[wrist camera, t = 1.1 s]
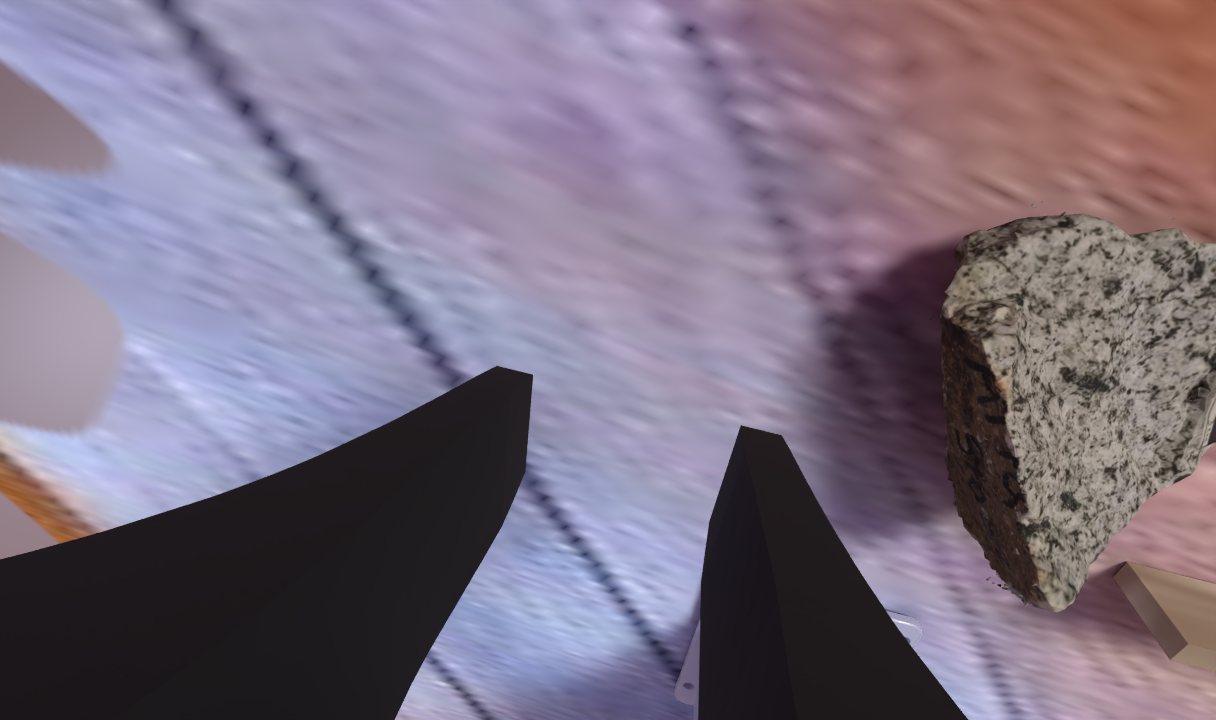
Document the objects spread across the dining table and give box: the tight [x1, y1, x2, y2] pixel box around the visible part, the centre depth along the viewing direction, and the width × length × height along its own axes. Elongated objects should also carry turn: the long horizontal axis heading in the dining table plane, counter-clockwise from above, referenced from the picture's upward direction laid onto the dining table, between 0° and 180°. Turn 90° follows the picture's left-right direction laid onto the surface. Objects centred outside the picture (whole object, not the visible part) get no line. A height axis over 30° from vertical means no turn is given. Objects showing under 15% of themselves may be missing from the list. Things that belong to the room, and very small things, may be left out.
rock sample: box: [931, 201, 1216, 613], centre depth 14 cm, size 10×8×9 cm
